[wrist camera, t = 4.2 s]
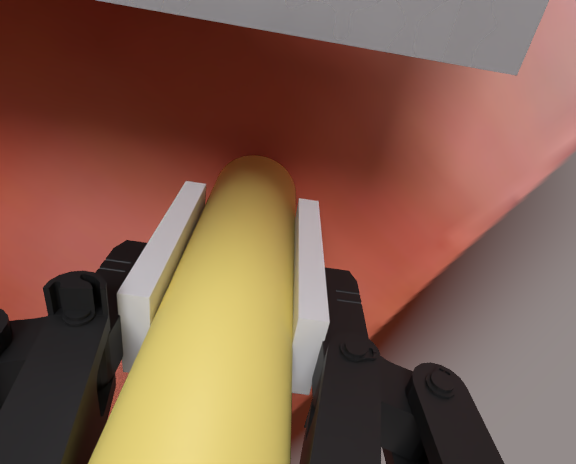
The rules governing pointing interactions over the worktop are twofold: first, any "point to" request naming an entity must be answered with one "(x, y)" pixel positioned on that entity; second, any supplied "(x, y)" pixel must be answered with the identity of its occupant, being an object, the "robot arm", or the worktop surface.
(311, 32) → the gray slab
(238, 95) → the worktop surface
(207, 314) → the pin
